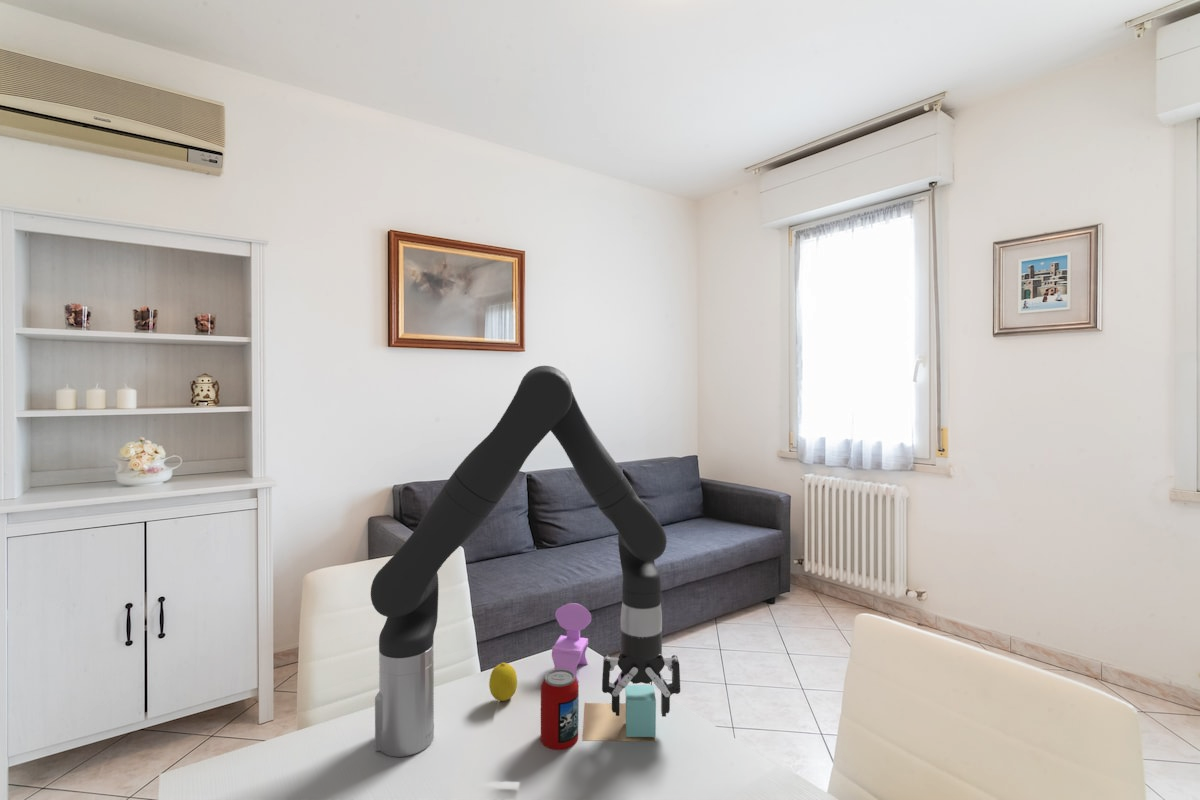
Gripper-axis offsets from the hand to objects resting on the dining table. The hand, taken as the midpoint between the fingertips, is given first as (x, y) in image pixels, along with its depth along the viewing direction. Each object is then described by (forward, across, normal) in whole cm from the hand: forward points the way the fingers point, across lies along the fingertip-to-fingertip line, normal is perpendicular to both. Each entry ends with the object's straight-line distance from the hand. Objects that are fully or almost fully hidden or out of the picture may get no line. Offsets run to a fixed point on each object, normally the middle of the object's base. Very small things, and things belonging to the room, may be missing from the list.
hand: (640, 713), depth 106 cm
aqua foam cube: (+3, 0, 0) cm, 3 cm away
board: (+4, -4, +3) cm, 6 cm away
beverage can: (+4, -15, -2) cm, 15 cm away
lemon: (+4, -27, +10) cm, 29 cm away
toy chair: (+4, -14, +22) cm, 26 cm away
